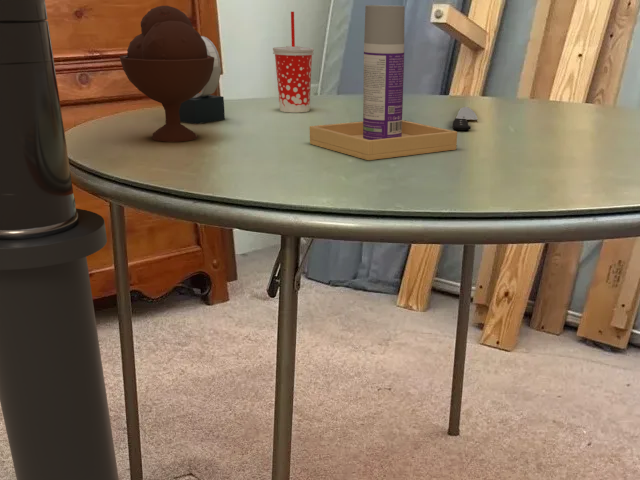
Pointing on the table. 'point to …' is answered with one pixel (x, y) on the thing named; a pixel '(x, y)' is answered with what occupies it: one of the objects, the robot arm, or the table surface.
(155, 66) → the ice cream bowl
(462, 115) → the kitchen knife
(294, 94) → the beverage cup
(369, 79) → the container
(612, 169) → the table surface
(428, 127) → the tray
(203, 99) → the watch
